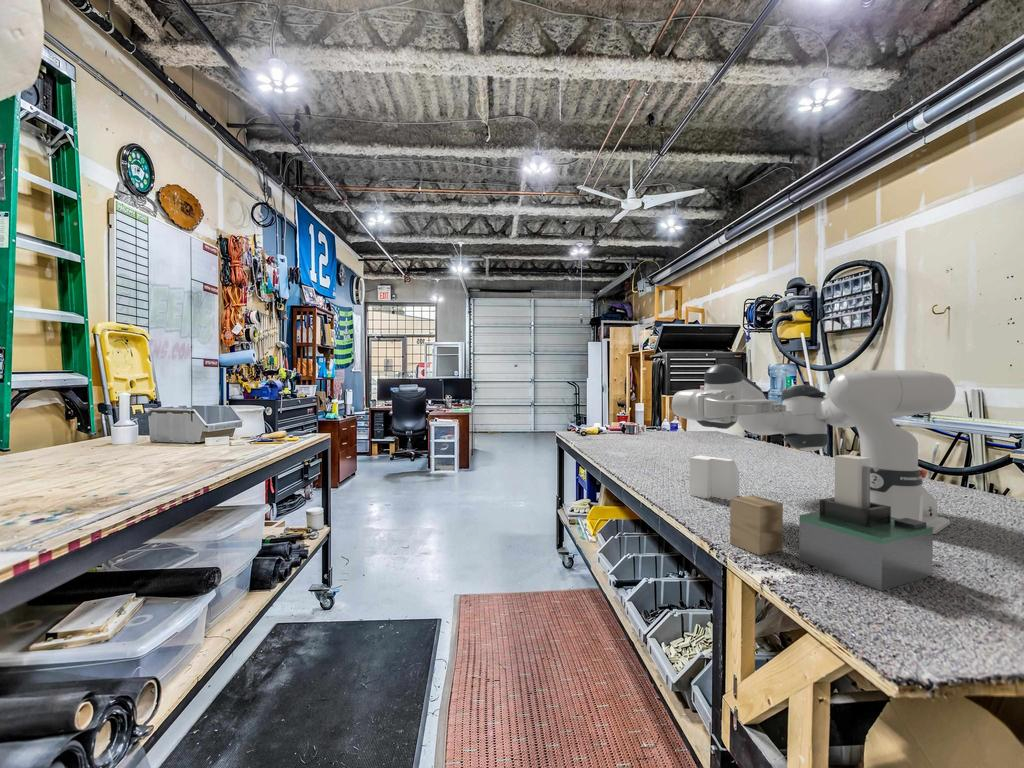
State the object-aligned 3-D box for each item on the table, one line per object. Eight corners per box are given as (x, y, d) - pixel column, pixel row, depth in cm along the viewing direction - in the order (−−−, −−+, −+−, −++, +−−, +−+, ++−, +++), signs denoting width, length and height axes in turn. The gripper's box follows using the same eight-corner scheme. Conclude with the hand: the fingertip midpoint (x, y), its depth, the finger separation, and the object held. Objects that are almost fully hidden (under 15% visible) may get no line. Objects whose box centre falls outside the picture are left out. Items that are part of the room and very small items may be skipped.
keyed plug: (846, 513, 87) (847, 454, 87) (874, 520, 83) (874, 458, 83) (834, 515, 86) (835, 455, 86) (861, 523, 81) (862, 459, 81)
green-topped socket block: (848, 548, 92) (848, 492, 92) (932, 575, 80) (932, 510, 79) (799, 559, 86) (799, 500, 86) (881, 591, 73) (882, 520, 73)
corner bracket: (689, 495, 136) (690, 457, 136) (705, 489, 143) (705, 453, 143) (725, 502, 128) (725, 462, 128) (739, 496, 135) (739, 458, 135)
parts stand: (752, 539, 97) (752, 495, 97) (782, 550, 91) (782, 503, 91) (730, 543, 95) (730, 498, 95) (759, 555, 88) (759, 506, 88)
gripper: (749, 416, 118) (799, 420, 106) (693, 419, 110) (740, 424, 98) (749, 393, 118) (799, 395, 106) (693, 394, 110) (740, 396, 98)
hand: (770, 409), depth 102 cm, fingers open, 8 cm apart
